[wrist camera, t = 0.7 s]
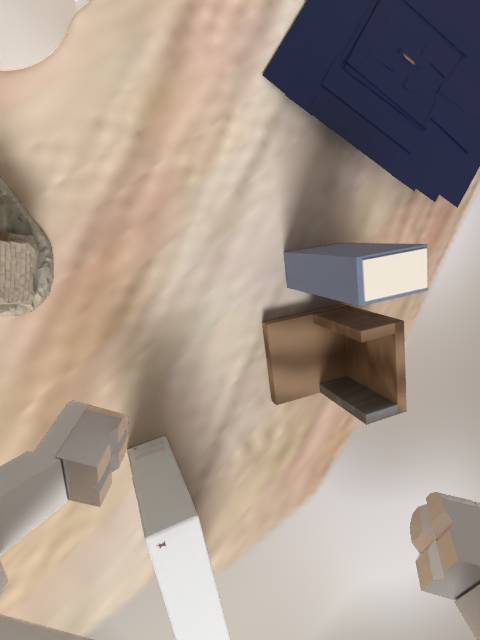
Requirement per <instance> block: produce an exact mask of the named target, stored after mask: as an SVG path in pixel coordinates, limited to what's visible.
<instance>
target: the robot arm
mask: <svg viewBox="0 0 480 640" xmlns="http://www.w3.org/2000/svg"><path fill="white" fill-rule="evenodd" d="M89 1H90V0H0V71H8V70H18V69H23V68H27V67H30V66H32V65H35V64H37V63H39V62H41V61H42V60H44V59H46V58H47V57H48V56H50V55H51V54H52V53H53V52H54V51H55V50H56V49H57V48H58V46H59V45H60V44H61V42H62V40H63V39H64V37H65V35H66V33H67V31H68V28H69V26H70V23H71V21H72V19H73V17H74V15H75V13H76V12H77V11H79V10H80V9H81V8H82V7H84V6H85V5H86V4H87V3H88V2H89ZM128 423H129V422H128V415H126V414H122V413H118V412H115V411H111V410H107V409H103V408H100V407H96V406H92V405H89V404H85V403H81V402H77V401H73V400H72V401H71V402H69V403H68V404H67V405H66V406H65V408H64V409H63V410H62V412H61V413H60V415H59V416H58V418H57V419H56V421H55V422H54V423H53V425H52V426H51V428H50V429H49V431H48V432H47V433H46V435H45V436H44V438H43V439H42V441H41V442H40V443H39V445H38V446H37V448H36V449H35V451H34V452H30V451H27V452H25V453H23V454H22V455H20V456H18V457H16V458H14V459H13V460H11V461H9V462H7V463H5V464H4V465H2V466H0V556H1V555H2V554H3V553H4V552H6V551H7V550H8V549H9V548H11V547H12V546H13V545H14V544H16V543H17V542H18V541H19V540H21V539H22V538H23V537H24V536H26V535H27V534H28V533H29V532H31V531H32V530H33V529H34V528H36V527H37V526H38V525H39V524H41V523H42V522H43V521H45V520H46V519H47V518H48V517H50V516H51V515H52V514H53V513H55V512H56V511H57V510H58V509H60V508H61V507H62V506H63V505H65V504H66V503H67V502H68V500H72V501H76V502H80V503H85V504H89V505H94V506H98V507H101V505H102V503H103V500H104V498H105V496H106V494H107V492H108V490H109V488H110V486H111V484H112V475H111V473H112V472H113V471H115V470H116V469H118V468H119V467H120V464H121V462H122V460H123V458H124V455H125V452H126V448H127V444H128V434H129V433H128V432H127V431H126V430H125V429H126V427H127V425H128ZM426 501H427V504H426V505H423V506H420V507H418V508H417V509H416V510H415V512H414V513H413V515H412V519H411V523H410V533H411V539H412V543H413V545H414V546H415V548H416V549H417V550H418V552H419V553H420V554H419V556H418V558H417V560H416V566H417V572H418V577H419V582H420V587H421V590H422V591H425V592H429V593H432V594H435V595H439V596H442V597H446V598H449V599H453V600H456V601H455V604H456V606H457V607H458V609H459V611H460V612H461V614H462V616H463V617H464V619H465V621H466V622H467V624H468V626H469V627H470V629H471V630H472V632H473V634H474V635H475V637H476V639H477V640H480V503H477V502H473V501H472V500H467V499H463V498H459V497H454V496H450V495H445V494H442V493H437V492H434V493H430V495H429V496H428V497H427V498H426ZM7 583H8V578H7V574H6V572H5V570H4V568H3V566H2V564H1V562H0V595H1V594H2V592H3V590H4V588H5V586H6V585H7ZM0 640H94V639H90V638H86V637H82V636H79V635H75V634H71V633H68V632H64V631H60V630H56V629H53V628H49V627H45V626H42V625H38V624H34V623H30V622H27V621H23V620H19V619H16V618H12V617H8V616H5V615H1V614H0Z"/></svg>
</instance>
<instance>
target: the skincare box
mask: <svg viewBox="0 0 480 640" xmlns="http://www.w3.org/2000/svg"><path fill="white" fill-rule="evenodd" d="M127 453H128V457H129V462H130V467H131V471H132V475H133V477H132V479H133V484H134V488H135V493H136V497H137V501H138V506H139V511H140V517H141V522H142V527H143V532H144V537H145V541H146V544H147V548H148V551H149V554H150V557H151V561H152V564H153V567H154V570H155V573H156V577H157V580H158V583H159V587H160V590H161V593H162V596H163V599H164V603H165V606H166V609H167V613H168V616H169V620H170V623H171V626H172V629H173V633H174V636H175V639H176V640H230V636H229V632H228V628H227V624H226V620H225V616H224V612H223V609H222V605H221V601H220V597H219V593H218V589H217V586H216V581H215V578H214V574H213V570H212V566H211V562H210V558H209V554H208V550H207V546H206V543H205V539H204V535H203V531H202V527H201V524H200V520H199V516H198V514H197V511H196V509H195V506H194V504H193V501H192V499H191V496H190V494H189V492H188V489H187V487H186V484H185V482H184V479H183V477H182V474H181V472H180V469H179V467H178V465H177V462H176V460H175V457H174V455H173V452H172V450H171V447H170V445H169V443H168V440H167V437H166V436H163V437H160V438H157V439H155V440H152V441H149V442H146V443H144V444H141V445H138V446H135V447H132V448H130V449H128V450H127Z"/></svg>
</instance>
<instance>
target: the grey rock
mask: <svg viewBox="0 0 480 640" xmlns="http://www.w3.org/2000/svg"><path fill="white" fill-rule="evenodd" d="M53 270H54V265H53V254H52V251H51V245H50V242H49V240H48V239H47V238H46V236H45V235H44V233H43V232H42V230H41V229H40V228H39V226H38V225H37V224H36V222H35V221H34V220H33V219H32V218H31V217H30V215H29V214H28V212H27V211H26V210H25V208H24V207H23V206H22V205H21V202H20V201H19V200H18V199H17V198H16V197H15V196H14V194H13V192H12V191H11V190H10V189H9V187H8V186H7V184H6V183H5V182H4V180H3V179H2V178H1V176H0V316H16V315H21V314H24V313H27V312H32V310H35V309H36V308H37V307H38V306H39V305H40V304H41V303H43V302H44V300H45V299H46V297H47V296H48V295H49V294H50V290H51V286H52V283H53V278H54V275H53Z"/></svg>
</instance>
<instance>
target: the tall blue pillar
mask: <svg viewBox="0 0 480 640" xmlns="http://www.w3.org/2000/svg"><path fill="white" fill-rule="evenodd" d="M284 261H285V270H286V280H287V288H291V289H295V290H299V291H303V292H306V293H310V294H314V295H318V296H322V297H326V298H329V299H333V300H337V301H341V302H345V303H348V304H352V305H356V306H362V305H367V304H371V303H375V302H380V301H384V300H388V299H393V298H397V297H402V296H406V295H410V294H415V293H419V292H424V291H428V253H427V244H379V243H335V244H329V245H323V246H317V247H311V248H306V249H300V250H294V251H288V252H284Z"/></svg>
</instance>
